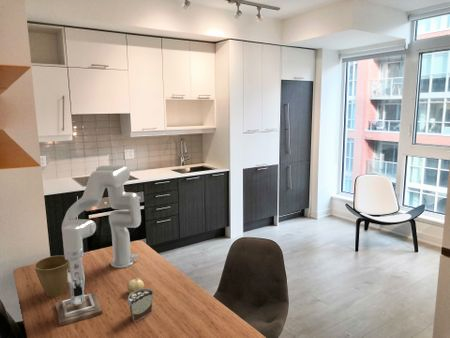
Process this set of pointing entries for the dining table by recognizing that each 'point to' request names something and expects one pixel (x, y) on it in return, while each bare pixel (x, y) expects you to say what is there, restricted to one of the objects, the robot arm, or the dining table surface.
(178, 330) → the dining table surface
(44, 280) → the plant pot
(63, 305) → the holder board
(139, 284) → the onion
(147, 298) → the food container
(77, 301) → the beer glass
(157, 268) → the dining table surface
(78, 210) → the robot arm
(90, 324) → the dining table surface
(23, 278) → the dining table surface
